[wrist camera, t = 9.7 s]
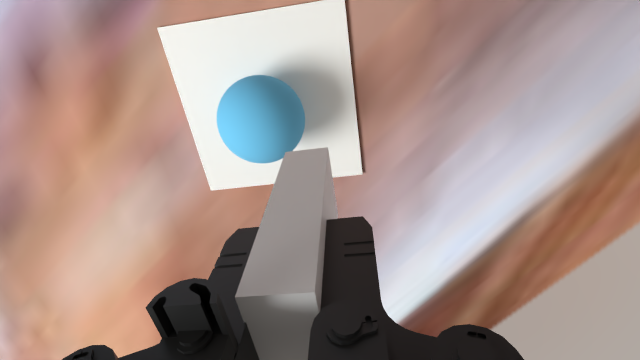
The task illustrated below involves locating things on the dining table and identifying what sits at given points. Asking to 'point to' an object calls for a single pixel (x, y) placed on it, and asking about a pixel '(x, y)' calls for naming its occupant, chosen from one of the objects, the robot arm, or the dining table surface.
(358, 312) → the robot arm
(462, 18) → the dining table surface
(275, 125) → the ball
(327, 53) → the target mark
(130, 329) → the dining table surface
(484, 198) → the dining table surface
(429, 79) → the dining table surface
